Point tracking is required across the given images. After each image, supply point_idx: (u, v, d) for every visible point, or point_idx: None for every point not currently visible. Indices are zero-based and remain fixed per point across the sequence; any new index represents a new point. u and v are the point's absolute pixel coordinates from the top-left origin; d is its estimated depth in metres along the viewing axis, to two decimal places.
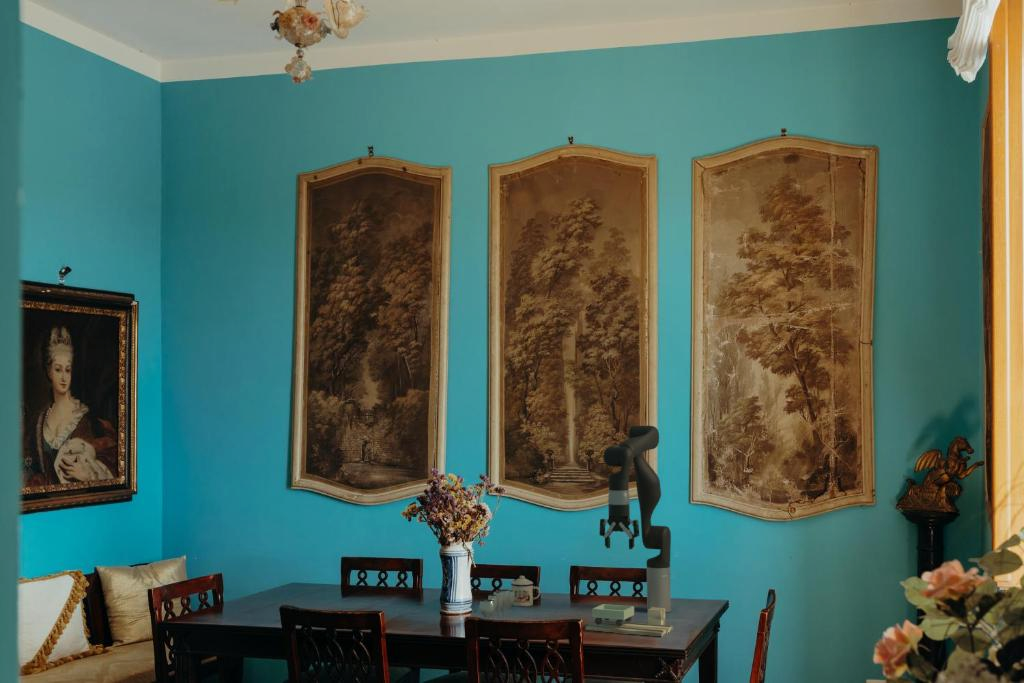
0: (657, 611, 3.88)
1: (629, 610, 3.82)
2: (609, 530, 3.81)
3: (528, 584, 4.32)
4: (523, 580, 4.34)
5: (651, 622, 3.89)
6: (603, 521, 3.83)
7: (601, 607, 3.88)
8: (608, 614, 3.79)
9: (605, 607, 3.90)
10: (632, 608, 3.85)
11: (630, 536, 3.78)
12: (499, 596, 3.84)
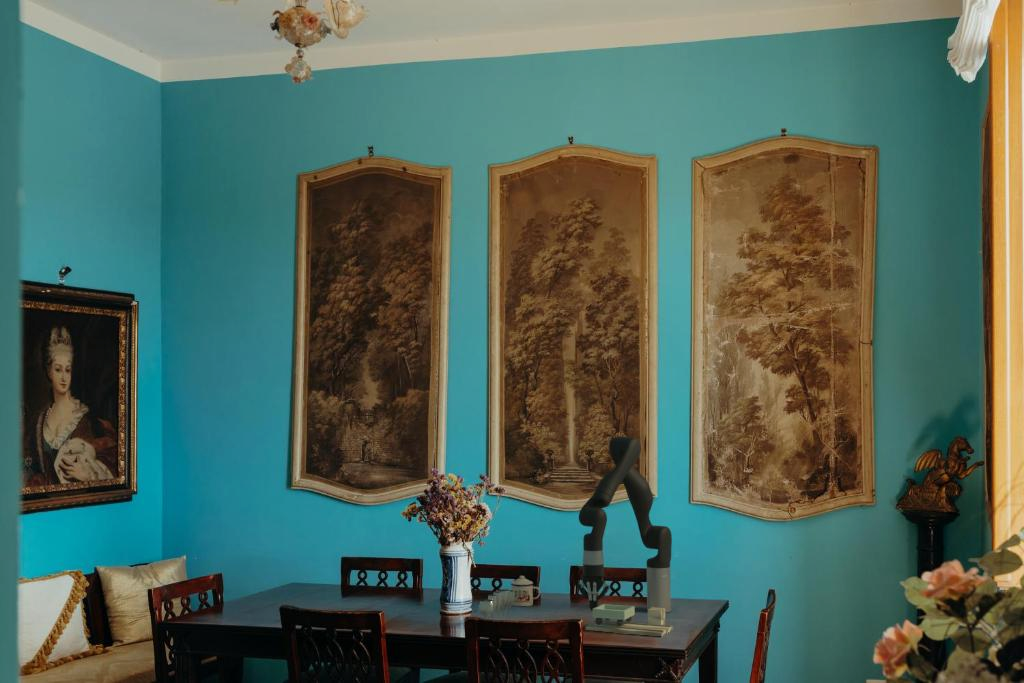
0: (657, 611, 3.88)
1: (629, 610, 3.82)
2: (589, 591, 3.87)
3: (528, 584, 4.32)
4: (523, 580, 4.34)
5: (651, 622, 3.89)
6: (580, 585, 3.90)
7: (601, 607, 3.88)
8: (608, 614, 3.79)
9: (605, 607, 3.90)
10: (632, 608, 3.85)
11: (594, 598, 3.86)
12: (499, 596, 3.84)
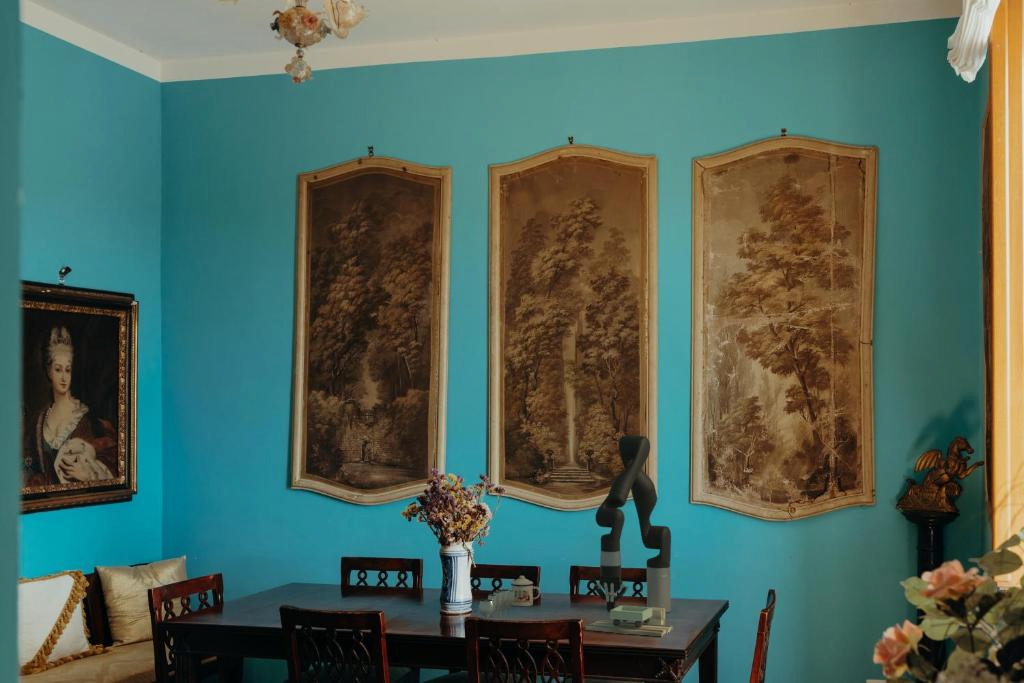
0: (657, 611, 3.88)
1: (647, 611, 3.79)
2: (606, 592, 3.84)
3: (528, 584, 4.32)
4: (523, 580, 4.34)
5: (651, 622, 3.89)
6: (597, 586, 3.87)
7: (619, 608, 3.85)
8: (626, 615, 3.76)
9: (623, 608, 3.88)
10: (650, 609, 3.82)
11: (612, 599, 3.83)
12: (499, 596, 3.84)
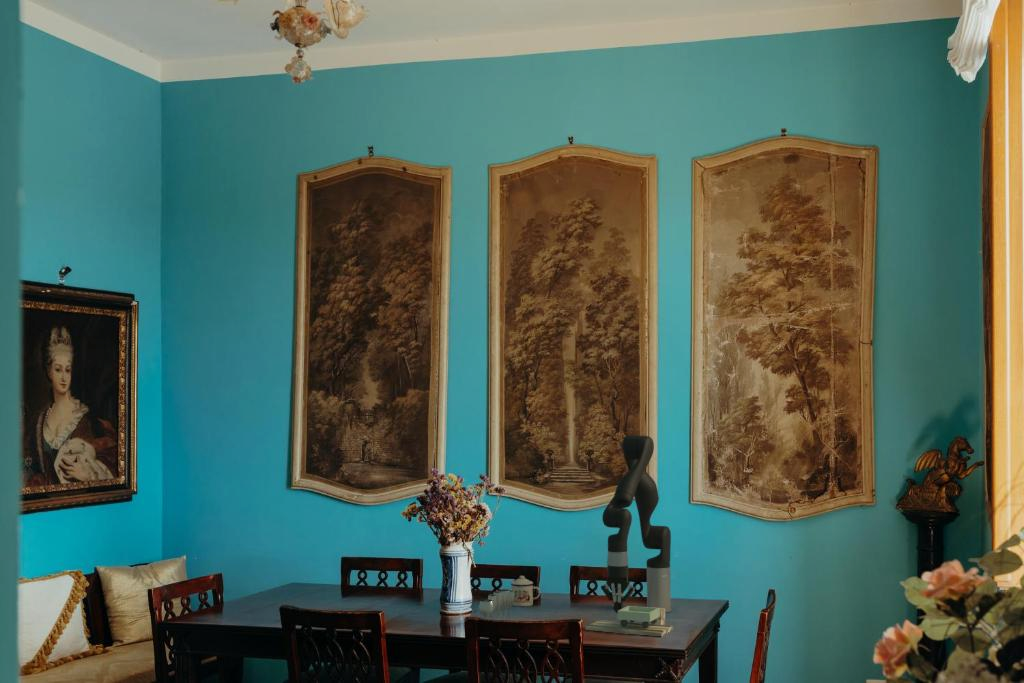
0: None
1: (655, 612, 3.78)
2: (613, 593, 3.83)
3: (528, 584, 4.32)
4: (523, 580, 4.34)
5: None
6: (604, 587, 3.85)
7: (626, 609, 3.84)
8: (634, 616, 3.75)
9: (630, 609, 3.86)
10: (658, 610, 3.81)
11: (619, 600, 3.82)
12: (499, 596, 3.84)
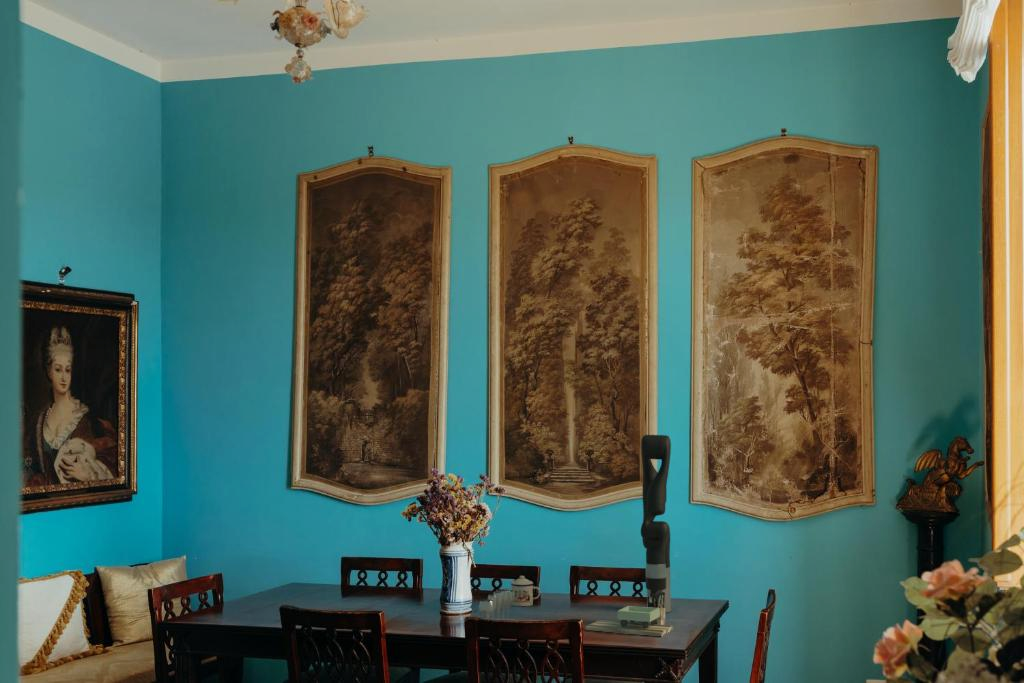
0: None
1: (655, 612, 3.78)
2: None
3: (528, 584, 4.32)
4: (523, 580, 4.34)
5: None
6: None
7: (626, 609, 3.84)
8: (634, 616, 3.75)
9: (630, 609, 3.86)
10: (658, 610, 3.81)
11: None
12: (499, 596, 3.84)
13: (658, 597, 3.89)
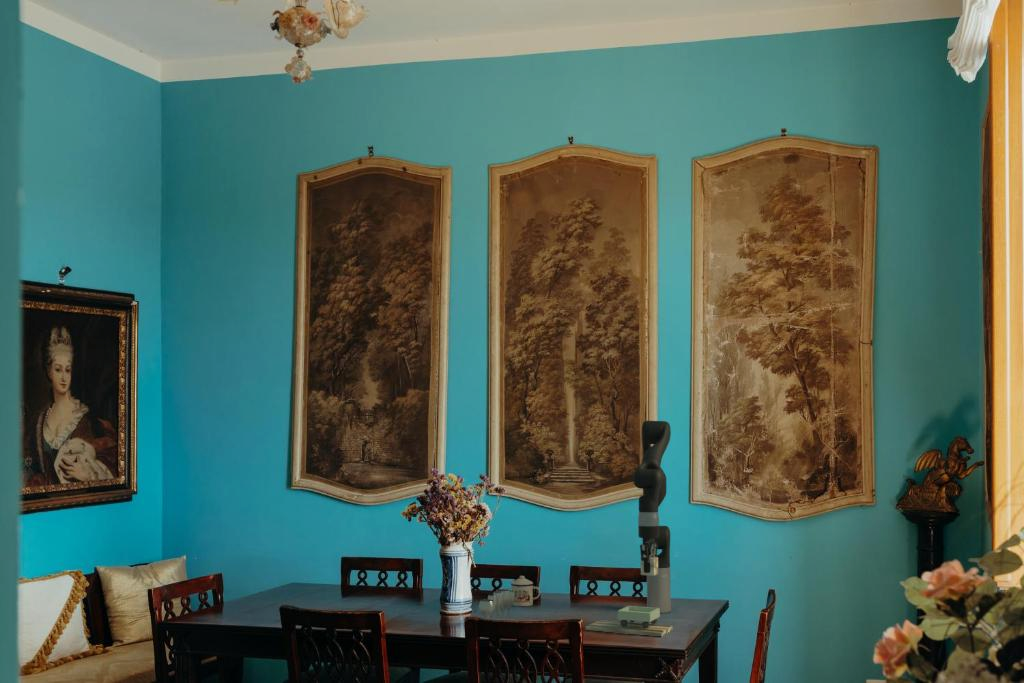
0: (650, 559, 3.84)
1: (655, 612, 3.78)
2: None
3: (528, 584, 4.32)
4: (523, 580, 4.34)
5: None
6: None
7: (626, 609, 3.84)
8: (634, 616, 3.75)
9: (630, 609, 3.86)
10: (658, 610, 3.81)
11: None
12: (499, 596, 3.84)
13: (651, 545, 3.85)
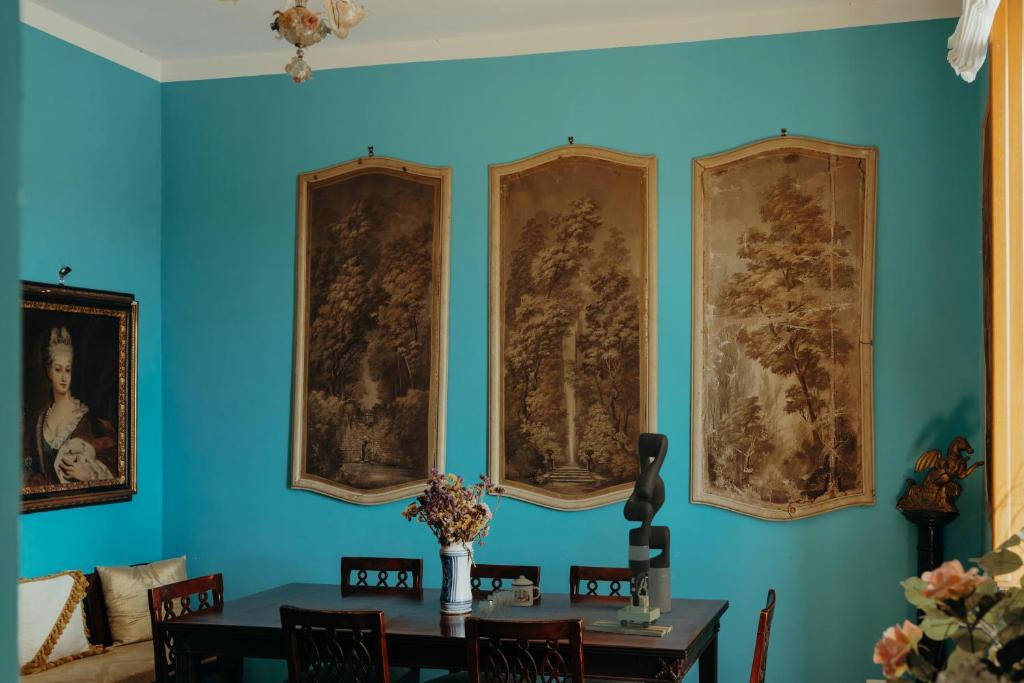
0: (640, 599, 3.77)
1: (655, 612, 3.78)
2: None
3: (528, 584, 4.32)
4: (523, 580, 4.34)
5: (634, 610, 3.78)
6: None
7: (626, 609, 3.84)
8: (634, 616, 3.75)
9: (630, 609, 3.86)
10: (658, 610, 3.81)
11: None
12: (499, 596, 3.85)
13: (641, 579, 3.78)
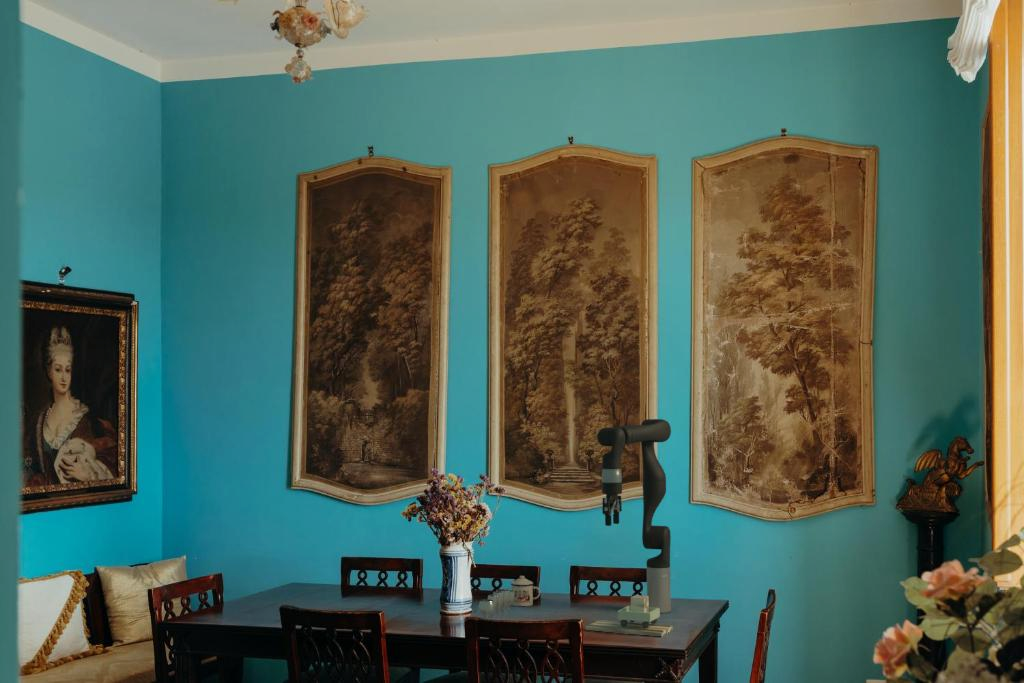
0: (640, 599, 3.77)
1: (655, 612, 3.78)
2: None
3: (528, 584, 4.32)
4: (523, 580, 4.34)
5: (634, 610, 3.78)
6: None
7: (626, 609, 3.84)
8: (634, 616, 3.75)
9: (630, 609, 3.86)
10: (658, 610, 3.81)
11: None
12: (499, 596, 3.85)
13: (613, 500, 3.96)
